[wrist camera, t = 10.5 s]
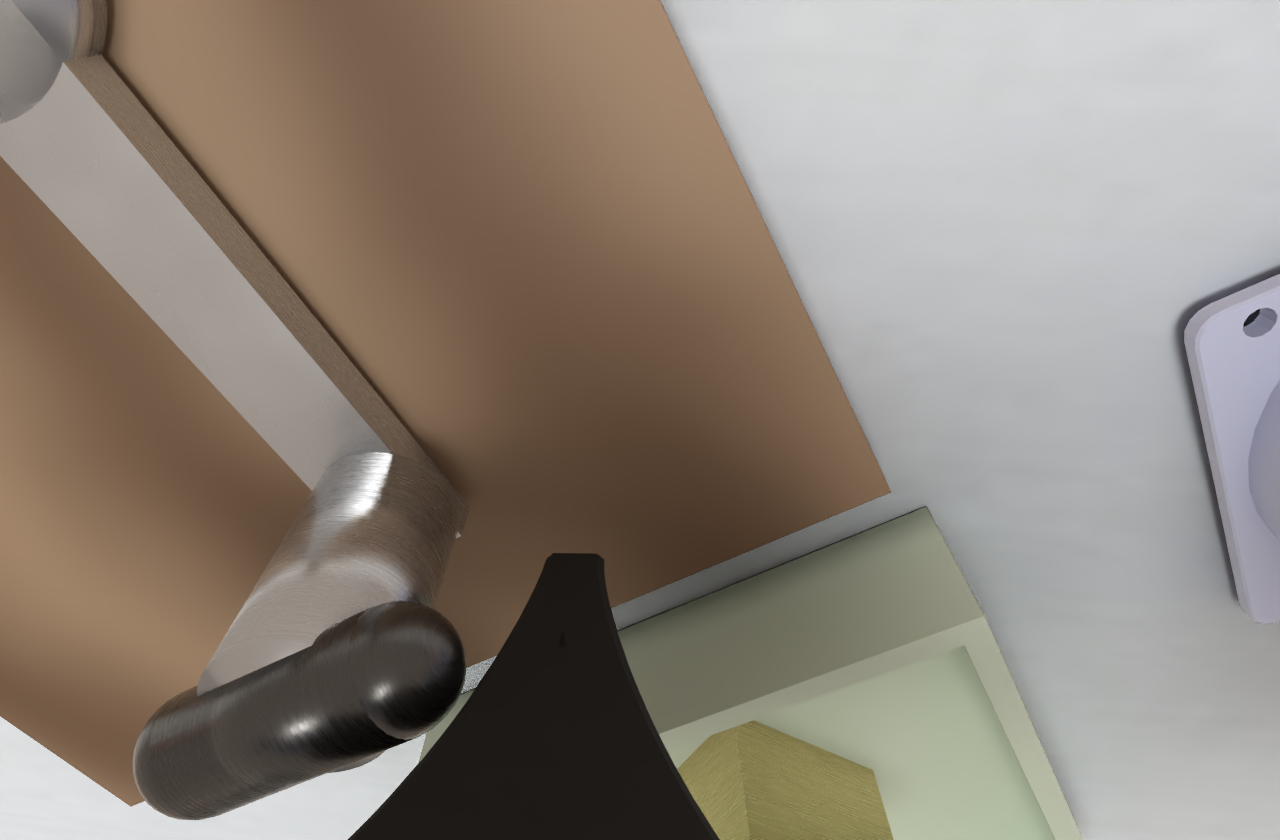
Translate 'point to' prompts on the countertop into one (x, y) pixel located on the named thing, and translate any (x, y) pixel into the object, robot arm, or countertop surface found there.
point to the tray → (860, 682)
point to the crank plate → (405, 336)
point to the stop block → (782, 789)
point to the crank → (282, 415)
